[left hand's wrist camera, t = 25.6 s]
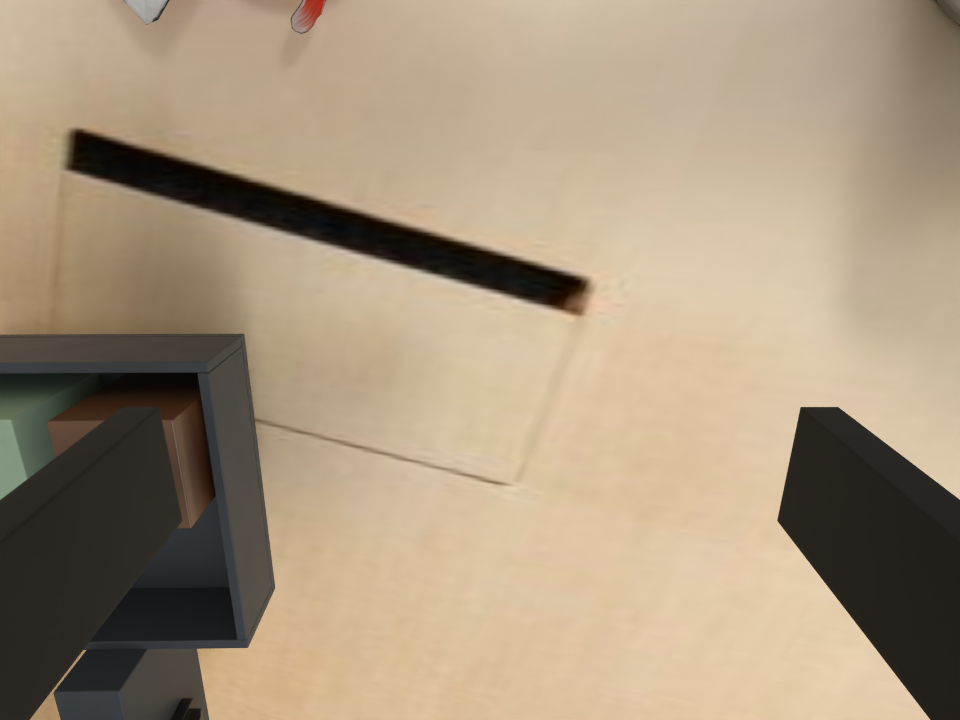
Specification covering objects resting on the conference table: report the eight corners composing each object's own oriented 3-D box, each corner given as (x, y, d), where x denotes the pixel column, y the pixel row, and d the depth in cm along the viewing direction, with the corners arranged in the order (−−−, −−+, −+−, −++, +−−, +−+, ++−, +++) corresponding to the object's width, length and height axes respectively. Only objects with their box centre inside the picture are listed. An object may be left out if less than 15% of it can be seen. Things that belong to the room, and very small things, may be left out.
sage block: (-5, 372, 30) (-118, 422, 24) (98, 370, 30) (10, 419, 24) (20, 464, 31) (-81, 531, 25) (118, 462, 31) (39, 528, 25)
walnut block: (126, 372, 30) (45, 421, 24) (229, 371, 30) (172, 420, 24) (144, 463, 31) (72, 530, 25) (241, 462, 31) (191, 528, 26)
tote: (-24, 334, 29) (-168, 383, 23) (244, 333, 30) (180, 381, 23) (84, 745, 38) (1, 869, 31) (294, 741, 38) (257, 864, 31)
